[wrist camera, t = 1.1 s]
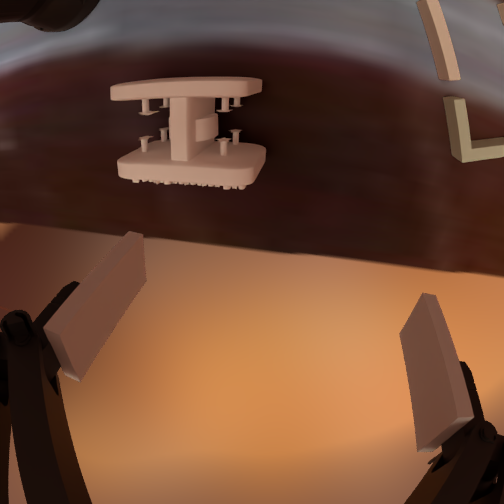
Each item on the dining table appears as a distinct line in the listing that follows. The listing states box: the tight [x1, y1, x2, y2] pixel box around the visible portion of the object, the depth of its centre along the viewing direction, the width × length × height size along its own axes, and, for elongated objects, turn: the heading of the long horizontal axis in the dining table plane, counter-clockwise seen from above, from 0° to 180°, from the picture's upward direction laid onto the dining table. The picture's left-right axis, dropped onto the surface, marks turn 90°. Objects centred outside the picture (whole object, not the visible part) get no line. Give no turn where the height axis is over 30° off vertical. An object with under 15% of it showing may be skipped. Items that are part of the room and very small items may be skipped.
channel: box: [416, 0, 504, 81], centre depth 23 cm, size 10×14×4 cm
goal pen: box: [443, 96, 504, 163], centre depth 28 cm, size 8×14×4 cm, turn 108°
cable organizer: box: [110, 77, 266, 189], centre depth 32 cm, size 15×11×12 cm
